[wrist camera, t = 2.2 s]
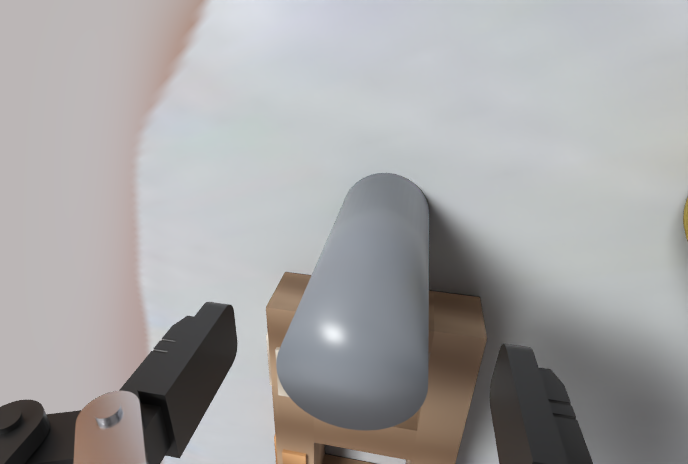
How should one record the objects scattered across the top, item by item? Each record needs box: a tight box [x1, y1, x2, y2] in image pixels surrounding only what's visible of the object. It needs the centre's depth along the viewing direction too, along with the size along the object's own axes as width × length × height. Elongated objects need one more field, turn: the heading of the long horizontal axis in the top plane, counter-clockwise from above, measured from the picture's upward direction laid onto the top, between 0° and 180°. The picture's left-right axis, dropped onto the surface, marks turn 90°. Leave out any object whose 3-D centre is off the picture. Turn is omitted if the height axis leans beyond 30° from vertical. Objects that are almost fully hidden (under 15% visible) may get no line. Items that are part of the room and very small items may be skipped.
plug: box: [276, 173, 429, 431], centre depth 15 cm, size 4×4×10 cm
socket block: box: [266, 272, 487, 464], centre depth 24 cm, size 16×10×3 cm, turn 178°
